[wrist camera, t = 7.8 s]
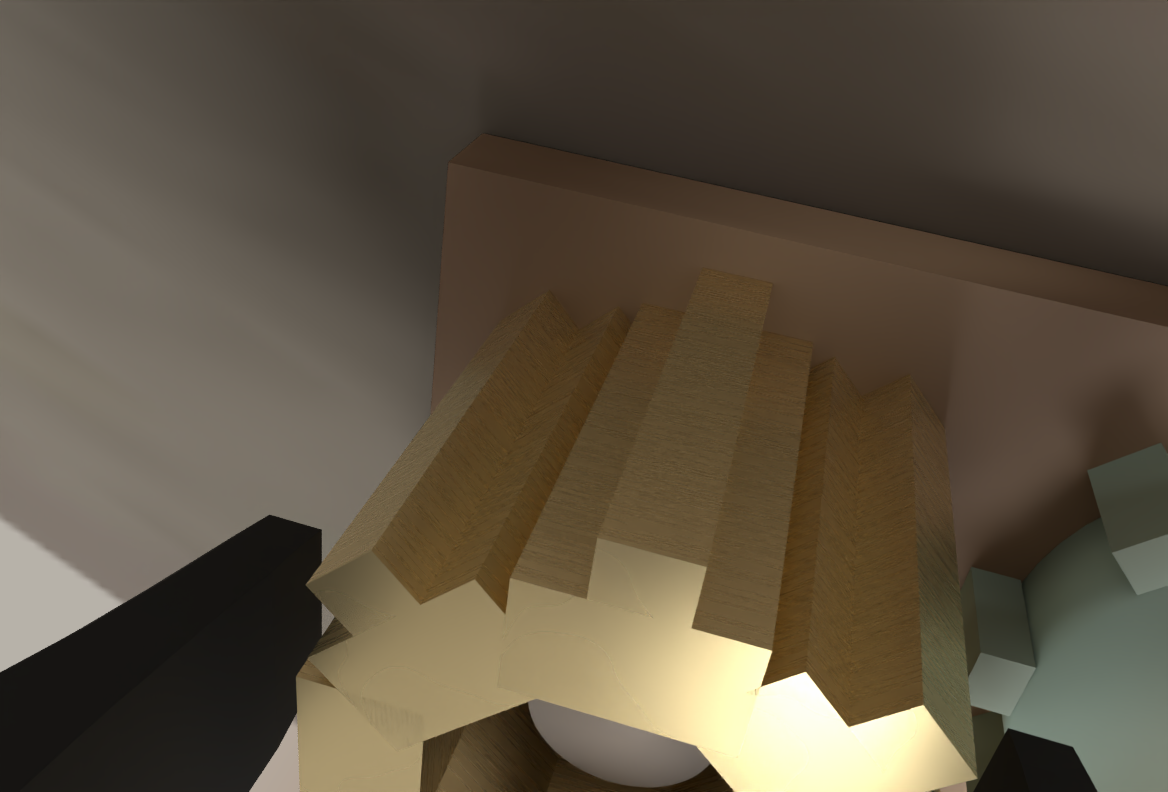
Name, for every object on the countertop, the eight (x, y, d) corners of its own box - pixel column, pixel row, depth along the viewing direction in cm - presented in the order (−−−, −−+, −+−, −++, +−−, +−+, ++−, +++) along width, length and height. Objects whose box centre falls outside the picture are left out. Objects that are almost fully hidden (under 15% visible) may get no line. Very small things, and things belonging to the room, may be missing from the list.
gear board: (1749, 416, 11) (2256, 778, 7) (1339, 865, 15) (1501, 1248, 11) (482, 133, 13) (299, 285, 9) (442, 602, 17) (307, 847, 13)
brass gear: (993, 331, 11) (1059, 661, 7) (830, 745, 15) (808, 1125, 10) (500, 222, 12) (288, 454, 8) (462, 638, 15) (306, 951, 11)
